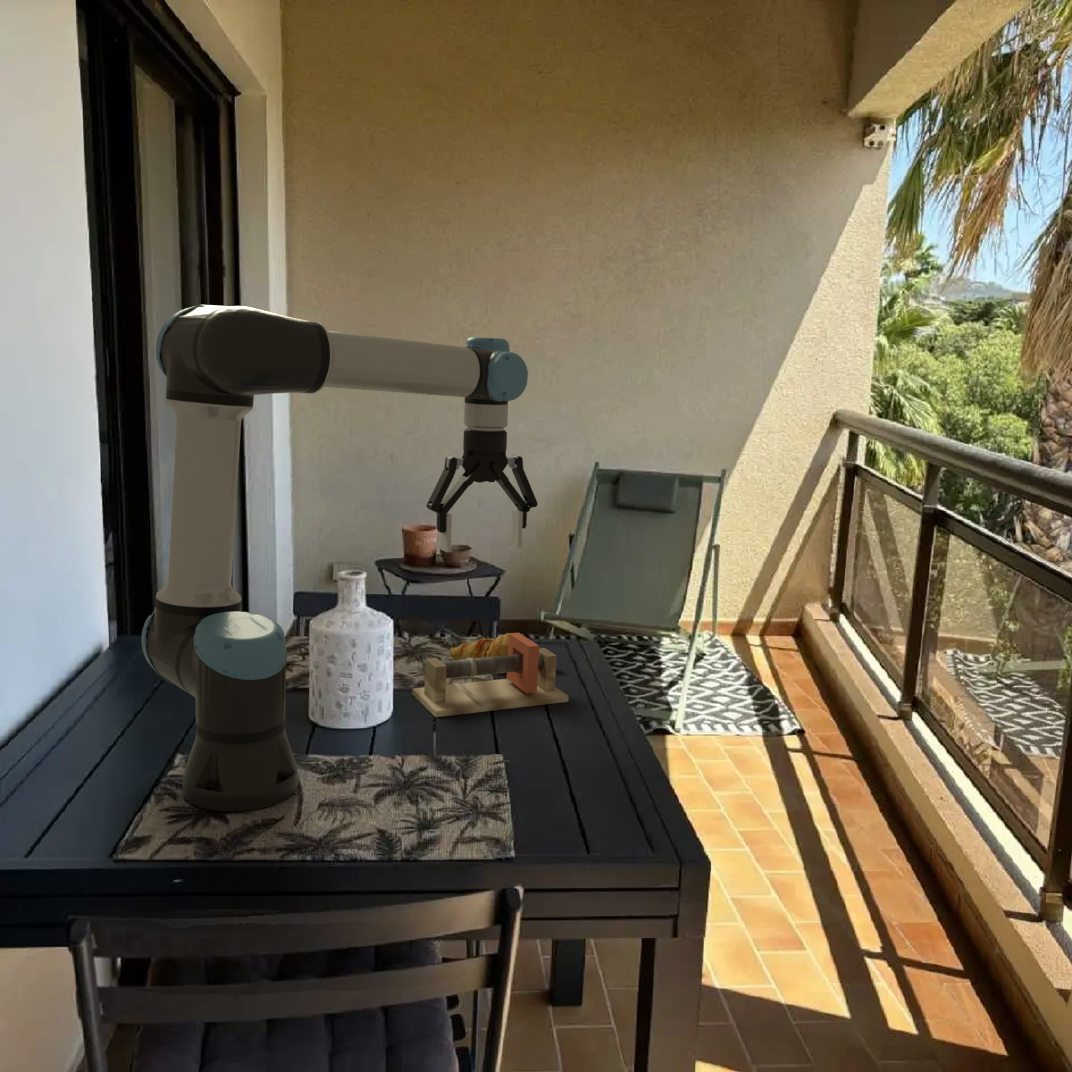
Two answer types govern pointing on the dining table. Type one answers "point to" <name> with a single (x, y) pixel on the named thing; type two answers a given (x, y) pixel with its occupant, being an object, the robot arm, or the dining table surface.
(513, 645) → the ring
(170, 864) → the dining table surface
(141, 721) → the dining table surface
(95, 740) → the dining table surface
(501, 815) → the dining table surface
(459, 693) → the pipe jig
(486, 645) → the croissant
